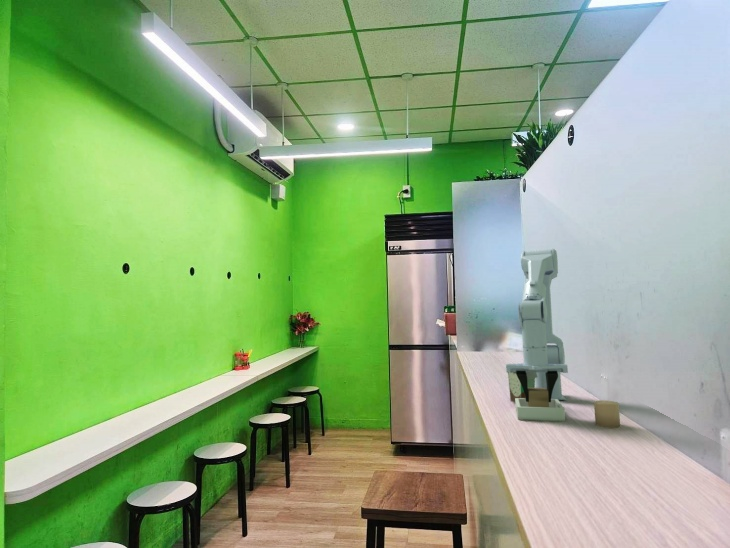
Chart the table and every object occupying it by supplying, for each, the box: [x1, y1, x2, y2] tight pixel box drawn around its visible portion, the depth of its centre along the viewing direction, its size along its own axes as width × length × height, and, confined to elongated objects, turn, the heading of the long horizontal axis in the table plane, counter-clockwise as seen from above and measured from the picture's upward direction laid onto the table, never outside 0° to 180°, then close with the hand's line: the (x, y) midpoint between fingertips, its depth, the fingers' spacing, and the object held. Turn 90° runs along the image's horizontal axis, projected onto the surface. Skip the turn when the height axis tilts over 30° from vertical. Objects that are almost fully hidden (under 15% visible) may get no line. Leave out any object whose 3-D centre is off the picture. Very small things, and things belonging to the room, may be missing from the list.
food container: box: [506, 369, 537, 405], centre depth 123 cm, size 12×6×10 cm, turn 179°
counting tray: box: [514, 398, 566, 422], centre depth 110 cm, size 11×11×3 cm
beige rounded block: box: [593, 400, 621, 429], centre depth 100 cm, size 5×5×5 cm
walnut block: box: [528, 388, 549, 407], centre depth 110 cm, size 4×4×4 cm
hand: (538, 401), depth 110 cm, fingers closed on walnut block, 4 cm apart
